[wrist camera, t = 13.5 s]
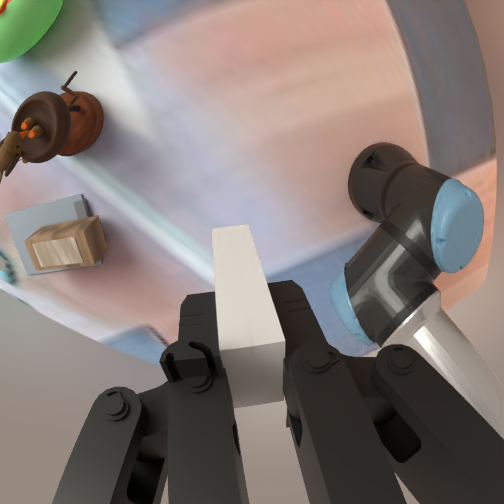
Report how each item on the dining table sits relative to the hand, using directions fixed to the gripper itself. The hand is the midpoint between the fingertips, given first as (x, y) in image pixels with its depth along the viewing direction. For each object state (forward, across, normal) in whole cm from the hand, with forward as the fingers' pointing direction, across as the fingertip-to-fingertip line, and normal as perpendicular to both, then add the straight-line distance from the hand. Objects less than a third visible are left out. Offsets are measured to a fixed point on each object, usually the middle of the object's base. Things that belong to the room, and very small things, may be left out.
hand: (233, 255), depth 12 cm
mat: (+34, +33, +11) cm, 49 cm away
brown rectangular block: (+30, +21, +11) cm, 38 cm away
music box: (+35, +22, -9) cm, 42 cm away
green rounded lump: (+35, +30, -32) cm, 56 cm away
